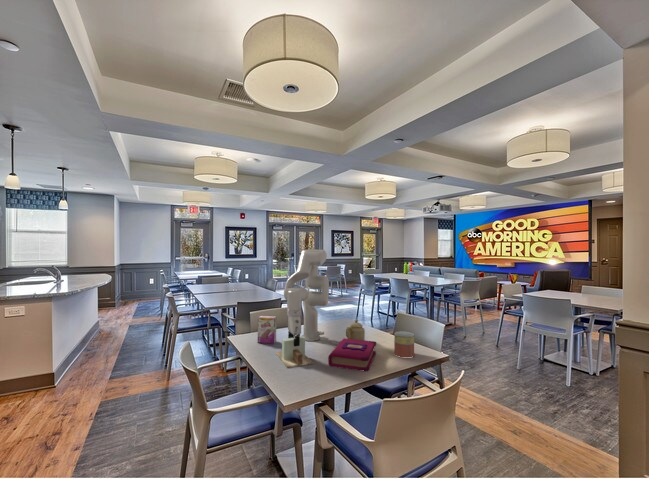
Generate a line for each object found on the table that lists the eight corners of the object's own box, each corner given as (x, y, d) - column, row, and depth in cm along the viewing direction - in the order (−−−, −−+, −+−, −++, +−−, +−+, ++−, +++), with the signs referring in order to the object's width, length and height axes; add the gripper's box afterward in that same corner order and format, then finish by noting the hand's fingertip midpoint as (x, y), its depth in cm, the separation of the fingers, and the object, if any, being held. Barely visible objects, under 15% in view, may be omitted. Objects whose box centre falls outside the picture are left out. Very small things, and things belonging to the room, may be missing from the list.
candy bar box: (257, 343, 192) (257, 317, 192) (259, 340, 197) (260, 315, 197) (274, 344, 191) (274, 318, 191) (276, 341, 196) (276, 316, 196)
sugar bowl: (362, 347, 187) (362, 322, 187) (345, 345, 190) (345, 321, 190) (365, 339, 201) (365, 317, 202) (349, 338, 204) (349, 316, 204)
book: (328, 366, 157) (328, 352, 157) (341, 349, 183) (341, 336, 183) (368, 372, 150) (368, 357, 150) (376, 353, 177) (376, 340, 177)
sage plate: (302, 354, 171) (302, 336, 171) (304, 356, 167) (305, 338, 167) (281, 357, 166) (282, 339, 166) (284, 359, 162) (284, 341, 163)
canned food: (396, 350, 182) (396, 330, 182) (415, 353, 177) (415, 332, 177) (392, 356, 172) (392, 335, 172) (412, 359, 167) (412, 338, 167)
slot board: (298, 350, 179) (298, 340, 180) (312, 363, 159) (312, 352, 160) (275, 353, 174) (276, 343, 174) (287, 367, 154) (287, 356, 154)
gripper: (305, 315, 161) (305, 347, 161) (295, 308, 177) (295, 338, 176) (292, 316, 158) (292, 349, 158) (283, 309, 174) (282, 339, 173)
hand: (293, 343), depth 167 cm, fingers open, 9 cm apart
